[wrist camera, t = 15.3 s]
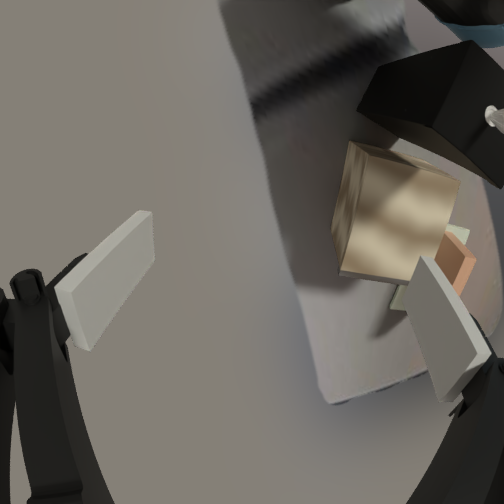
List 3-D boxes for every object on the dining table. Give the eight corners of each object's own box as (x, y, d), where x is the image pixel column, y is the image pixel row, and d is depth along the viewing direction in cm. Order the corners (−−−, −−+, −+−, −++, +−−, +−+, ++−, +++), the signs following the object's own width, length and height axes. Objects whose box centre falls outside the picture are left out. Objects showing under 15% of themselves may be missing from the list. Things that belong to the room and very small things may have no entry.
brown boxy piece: (349, 140, 39) (369, 155, 28) (422, 159, 38) (460, 181, 27) (329, 233, 46) (338, 275, 35) (397, 246, 45) (421, 288, 35)
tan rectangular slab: (441, 229, 42) (465, 256, 34) (452, 232, 42) (476, 259, 34) (409, 307, 50) (422, 340, 42) (419, 308, 49) (433, 341, 42)
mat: (423, 217, 42) (425, 219, 41) (468, 229, 42) (470, 231, 41) (389, 306, 51) (390, 308, 50) (431, 311, 50) (432, 313, 50)
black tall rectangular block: (422, 96, 33) (565, 116, 9) (400, 138, 37) (526, 206, 13) (377, 66, 33) (498, 33, 8) (354, 110, 36) (455, 134, 12)
